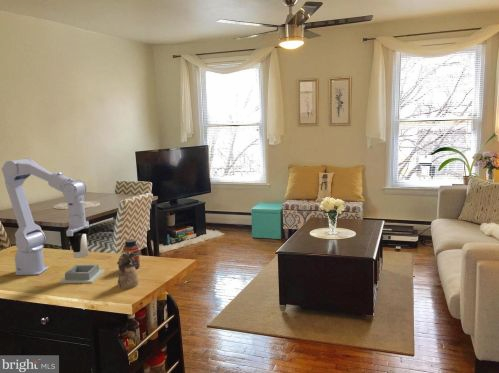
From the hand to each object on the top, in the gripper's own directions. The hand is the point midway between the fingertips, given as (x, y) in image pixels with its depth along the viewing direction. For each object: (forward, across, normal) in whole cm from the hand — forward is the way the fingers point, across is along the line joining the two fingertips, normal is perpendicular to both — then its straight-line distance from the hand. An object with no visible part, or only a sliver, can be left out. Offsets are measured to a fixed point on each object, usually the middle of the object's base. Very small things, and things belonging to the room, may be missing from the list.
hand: (80, 249), depth 160 cm
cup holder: (+10, -1, 0) cm, 10 cm away
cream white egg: (+2, 0, 0) cm, 2 cm away
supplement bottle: (+11, +8, -16) cm, 21 cm away
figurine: (+11, -9, -20) cm, 24 cm away
